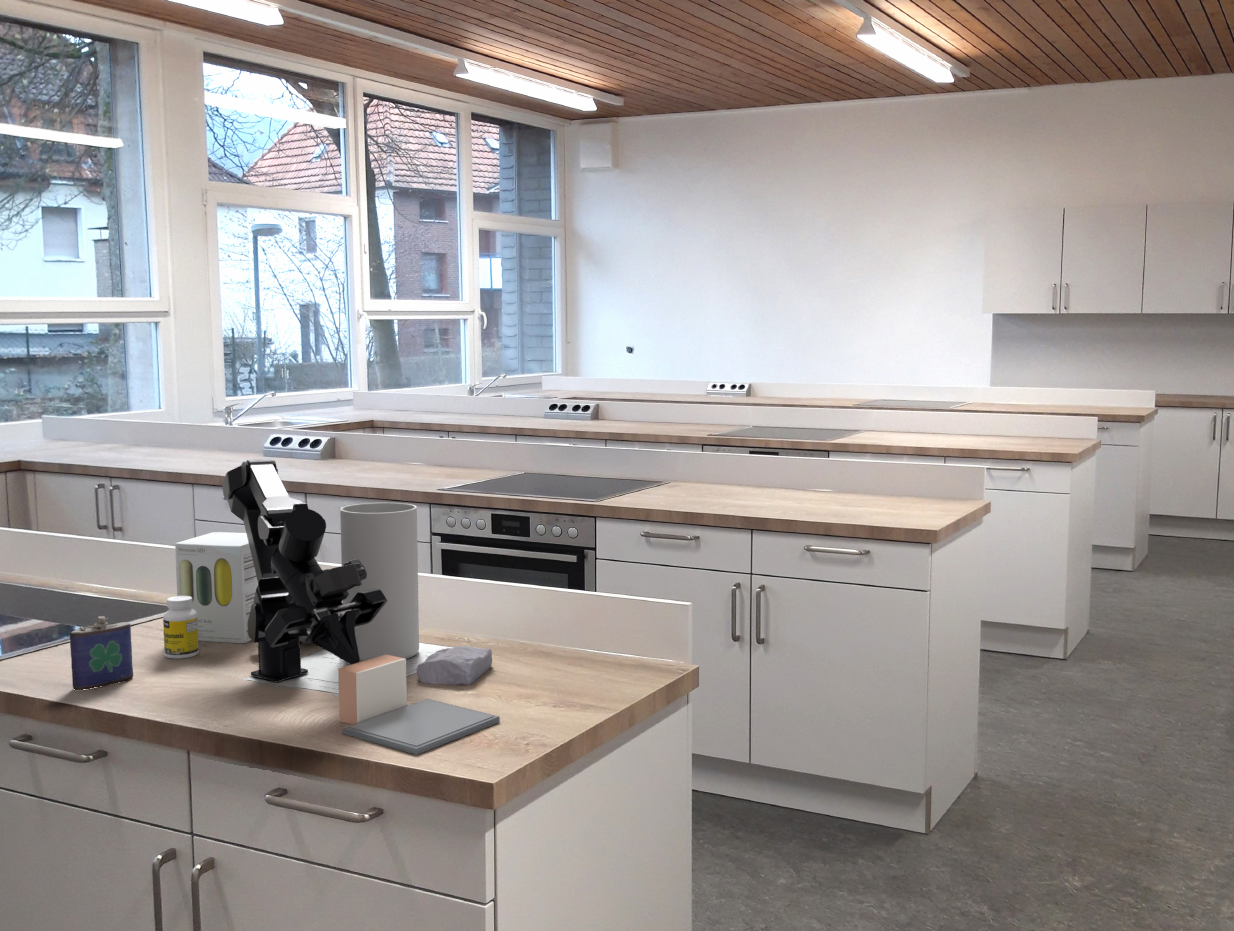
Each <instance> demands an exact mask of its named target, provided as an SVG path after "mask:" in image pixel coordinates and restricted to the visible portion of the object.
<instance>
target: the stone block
mask: <svg viewBox="0 0 1234 931" xmlns="http://www.w3.org/2000/svg"><path fill="white" fill-rule="evenodd" d="M492 655H493V652H492V649H491V648H481V647H474V646H472V645H469V646H468V645H457V646H453V647H447V648H442V649H439V650H436V651H435V652H434V653H431V655H429V656H427V657H426V658H425V660H424V662H421V663H419V664H418V665H417V667H416V674H417V677H418V679H419V681H420V683H423V684H431V685H453V686H454V685H455V686H457V685H462V686H470V685H472V684H473V683H474V682H475V681H477V680H478V679H479V678H480V677H481V676H482V675H484V673H486V672H487V671H489V670H490V668H491V667H492V664H493V657H492Z"/></svg>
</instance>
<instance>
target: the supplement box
mask: <svg viewBox="0 0 1234 931" xmlns="http://www.w3.org/2000/svg"><path fill="white" fill-rule="evenodd" d="M174 548H175V549H174V550H175V573H176V574H175V575H176V594H177V595H176V596H190V597H192V606H191V609H194V610H195V611H196V612H197V619H198V642H213V643H214V642H215V643H228V644H229V643H230V644H246V643H248V642H250V641H252V639H251V638H250V637H249V636H248V626H247V622H248V618H249V614H250V610H251V606H252V604H253V602H254V597H255V592H256V588H257V586H258V580H257V576H256V572H255V568H254V563H253V559H252V555H251V551H250V546H249V542H248V538H247V534H246V532H225V531H213V532H209V533H205V534H202V535H198V536H195V537H192V538H189V539H185V540H182V541H179V542H175V544H174Z"/></svg>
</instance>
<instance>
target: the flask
mask: <svg viewBox="0 0 1234 931" xmlns="http://www.w3.org/2000/svg"><path fill="white" fill-rule="evenodd" d="M107 620H109V617H107V618H106V617H105V615H101V616H97V622H95V623H94V624H93V625H86V627H83V626H80V627H79V629H75V630H72V631H71V632H70V633H69V641H70V642H69V646H70V648H69V649H70V660H71V676H72V677H71V678H72V679H71V681H72V689H75V690H83V689H89V690H91V689H90V688H94V687H100V686H104V687H107V686H106V685H108V686H110V684H113V685H116V683H117V684H119V683H118V682H121V683H124V681H126V682H128V681H130V680H133V678H134V669H133V668H134V667H133V666H134V665H133V647H132V646H133V644H132V628H131V623H130V622H125V621H124V622H122V621H121V622H117V623H113V624H109V623H108V622H107ZM100 688H101V687H100ZM94 689H95V688H94ZM75 690H74V691H75Z"/></svg>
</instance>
